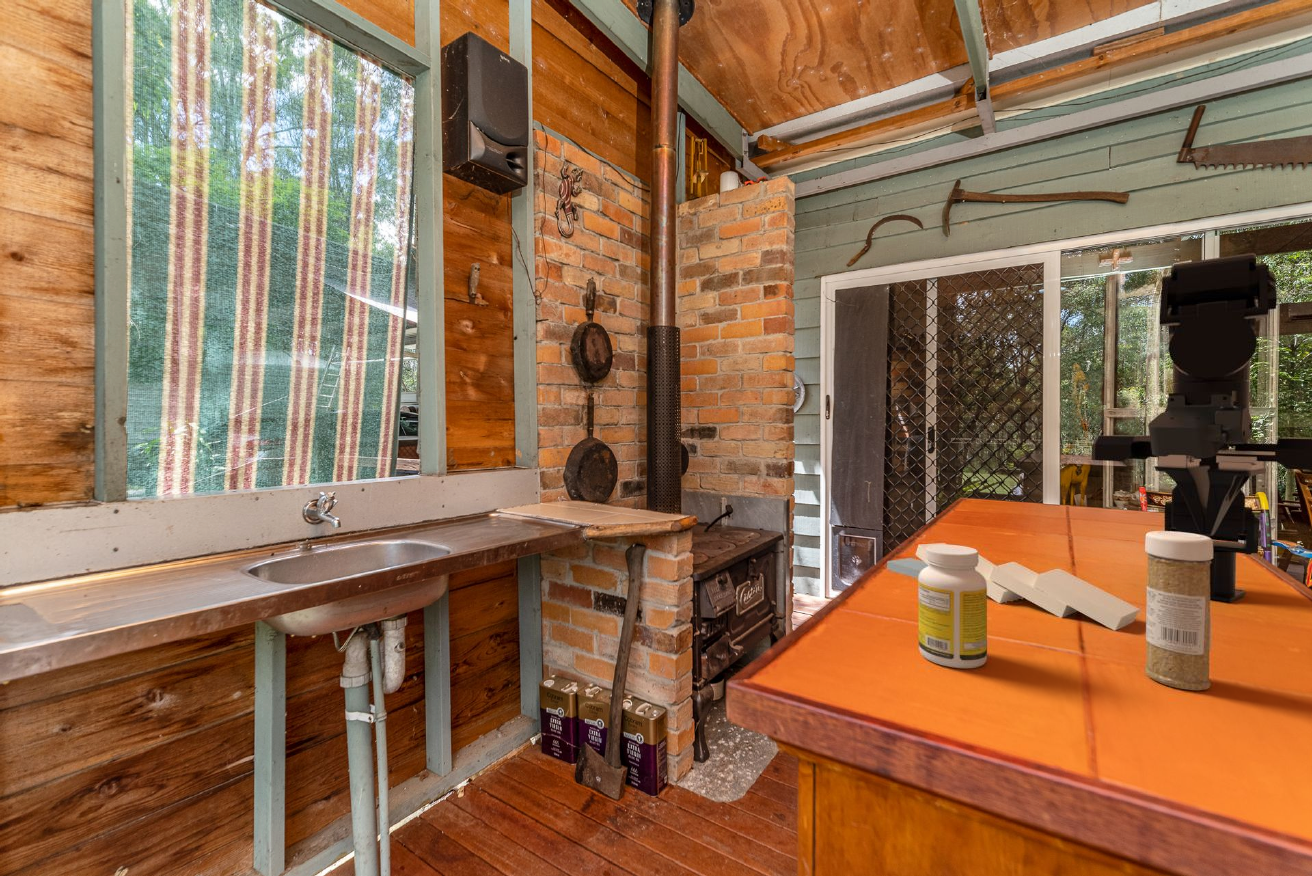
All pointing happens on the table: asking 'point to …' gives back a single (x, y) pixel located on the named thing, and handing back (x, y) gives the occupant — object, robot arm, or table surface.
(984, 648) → the pill bottle
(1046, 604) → the domino
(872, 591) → the table surface
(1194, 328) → the robot arm
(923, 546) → the domino
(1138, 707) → the table surface
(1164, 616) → the spice jar
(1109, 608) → the domino
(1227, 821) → the table surface
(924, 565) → the domino
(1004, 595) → the domino
